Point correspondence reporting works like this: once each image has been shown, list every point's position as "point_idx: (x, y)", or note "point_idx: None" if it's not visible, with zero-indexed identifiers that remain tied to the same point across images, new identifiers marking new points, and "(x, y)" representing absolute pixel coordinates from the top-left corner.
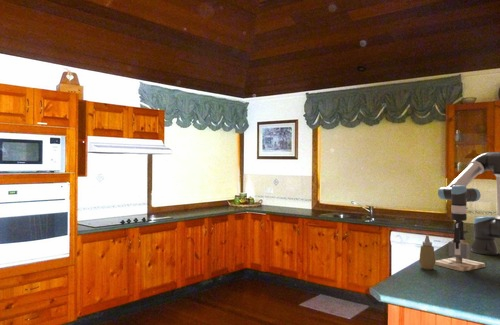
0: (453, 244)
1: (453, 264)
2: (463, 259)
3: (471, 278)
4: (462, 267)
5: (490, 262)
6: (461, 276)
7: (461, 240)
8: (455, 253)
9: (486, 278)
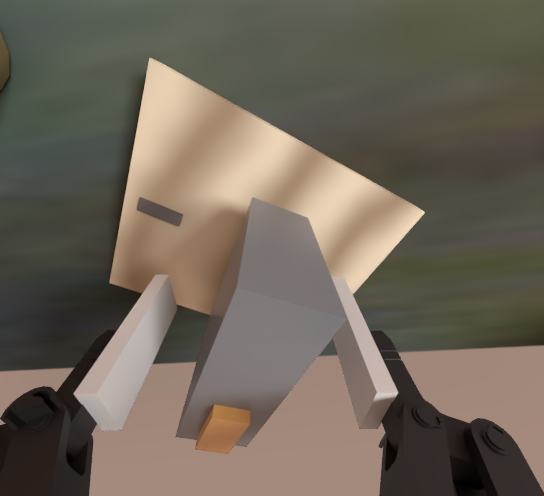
0: (218, 321)
1: (151, 231)
2: (356, 261)
3: (24, 311)
4: (115, 282)
5: (418, 338)
6: (10, 276)
7: (363, 413)
8: (153, 286)
9: (89, 347)
